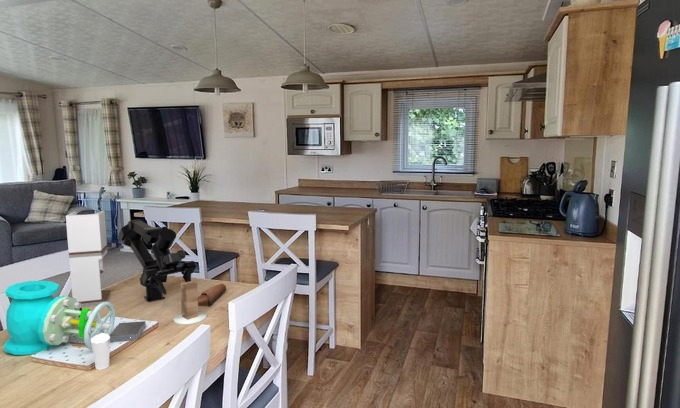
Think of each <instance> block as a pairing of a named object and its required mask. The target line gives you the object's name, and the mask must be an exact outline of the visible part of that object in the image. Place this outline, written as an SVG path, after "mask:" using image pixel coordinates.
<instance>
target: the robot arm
mask: <svg viewBox="0 0 680 408" xmlns="http://www.w3.org/2000/svg"><path fill="white" fill-rule="evenodd" d="M176 238H177V233H176V231H174V230H173V229H171V228H168V226H166V225H165V226H162V227H158V226H157V227H156V226H151V225H149V224H147V223H146V222H144V221H143V220H142V219H133V220H129V221H127V224H125V225H124V226H122V227H121V228H120V231H119V232H118V239H119V240H120V242H121V243H122V245H124V246H125V247H129V248H130V249H131V251H132V252H133V253H134V255H135V257H136V259H137V260H138V261H139V263H140V265H141V266H142V267H143V268H142V273H141V276H140V278H139V284H140V286H143V287H145V292H146V293H145V295H144V296H143V298H144V300H146V302H148V303H149V302H154V301H158V300H160V301H161V300H164V299H166V297H165V296H167V294H168V293H167V290H166V288H165V286H164V284H163V283H167V280H168V275H172V274H177V273H180V274H181V275H182V279H183V281H184V283H185V282H190V281H192V274H193V273H194V271H195V269H196V268H197V266H198V265H197V263H196V261H194V260H189V261H184V262H183V263H182V266H179V264H180V262H182V261H183V260H184V259H185V258H186V254H185V253H186V252H185V251H184V249H179V250H177V251H176V252H172V253H171V251H170V248H171V247H172V246H173V244H174V242H175V240H176ZM142 239H143V240H142ZM144 243H145V244H146V245H152V246H151V248H150V250H151V251H150V252H149V250H148V248H147V247H146V245H145V244H144ZM152 254H153V256H152ZM154 258H155V259H154Z"/></svg>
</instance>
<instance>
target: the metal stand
mask: <svg viewBox="0 0 680 408" xmlns="http://www.w3.org/2000/svg"><path fill="white" fill-rule="evenodd" d="M146 325H147V324H146V320H143V321H142V320H141V321H130V322H129V321H128V322H127V321H126V322H119V323H118V324H117V325H116V326H115V328H114V329H112V331H111V334H110V335H109V336H110V343H117V342H131V341H132V342H133V341H137V340H139V338H140V336H141V335H142V333H143V332H144V330H145V329H146V327H147V326H146ZM130 337H131V338H130Z"/></svg>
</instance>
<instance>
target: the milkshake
mask: <svg viewBox="0 0 680 408" xmlns="http://www.w3.org/2000/svg"><path fill="white" fill-rule="evenodd" d="M88 335H89V336H90V334H89V332H88ZM90 338H91V341H90V343H91V345H92V350H91V351H92V354H93V361H94V366H95V370H97V371H99V370H100V371H101V370H105V369H107V368H109V367H110V348H111V342H110V336H109V335H108V334H106V333H105V332H104V333H99V334H96V335H95V336H94V337H93V338H92V337H91V336H90Z"/></svg>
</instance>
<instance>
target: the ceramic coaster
mask: <svg viewBox="0 0 680 408" xmlns="http://www.w3.org/2000/svg"><path fill="white" fill-rule="evenodd" d="M207 317H208V316H207V313H206V312H205V311H203V310H198V317H195V318H192V319H189V320H187V319H185V318H184V317H182V312H180V313H178V314H176V315H175V316H174V317H173V322H174V324H177V325H182V326H183V325H185V326H186V325H193V324H198V323H201V322H203V321H204V320H206V319H207Z"/></svg>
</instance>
